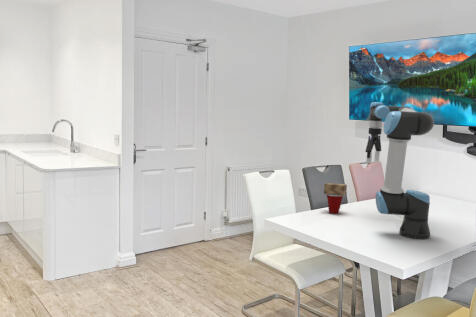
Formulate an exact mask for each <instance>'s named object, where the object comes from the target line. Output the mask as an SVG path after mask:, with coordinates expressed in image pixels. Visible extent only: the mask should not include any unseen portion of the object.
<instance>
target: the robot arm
mask: <svg viewBox="0 0 476 317" xmlns="http://www.w3.org/2000/svg"><path fill="white" fill-rule="evenodd" d="M383 119H385V120H384V122H383ZM383 123H384V124H383ZM434 125H435V120H434V117H433V116H432V115H431V114H430V113H427V112H422V111H421V112H419V111H417V110H415V108H414V107H413V106H404V105H403V106H399V105H397V106H395V105H384V103H383V102H375V101H373V102H371V103H370V107H369V121H368V127H369V128H368V134H369V136H368V139H367V144H366V148H365V153H366V162H365V163H366V164H372V159H373V158H372V157H373V156H372V154H373V152H372V151H373V150H375V151H374V162H378V163H379V162H380V152H382V145H381V144H382V143H381V135H382V131H383V133H384V135H386V138H387V140H388V142H389V143H388V150H387V157H386V165H385V166H386V167H385V172H384V182H383V185H382V186H380V190H379V191H376V193H375V204H376V209H377V211H378V213H379V214H381V215H388V216H389V215H394V216H395V215H396V216H397V215H398V216H404V217H403V220H402V223H401V225H400V226H399V230H398V232H399V235H401V236H403V237H406V238H410V239H417V240H428V239H430V238H431V230H430V226H429V213H430V211H429V210H430V205H431V202H430V195H429V194H428V193H426V192H424V191H423V192H422V191H419V190H414V189H406V190H404V189H403V187H402V185H403V184H402V183H403V178H404V170H405V169H404V168H405V163H406V162H405V161H406V155H407V154H406V153H407V146H408V142H410V141H411V139H412V136H423V135H426V134H428V133H430V132H431V130H432V129H433V128H434ZM382 127H383V129H382ZM373 148H374V149H373Z"/></svg>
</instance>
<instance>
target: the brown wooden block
mask: <svg viewBox="0 0 476 317" xmlns="http://www.w3.org/2000/svg"><path fill="white" fill-rule="evenodd" d="M323 186H324V187H323V194H324V195H326V194H333V195H344V196H346V195H347V192H348V191H347V190H348V188H347V187H348V185H347V184H346V183H344V184H343V183H331V182H326V183H324V185H323Z"/></svg>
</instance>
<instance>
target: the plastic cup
mask: <svg viewBox="0 0 476 317" xmlns="http://www.w3.org/2000/svg"><path fill="white" fill-rule="evenodd" d="M325 195H326V198H327V207H328V212H329V214H334V215H338V214H339V212H340V209H341V204H342V201H343V198H344V196H345V195H333V194H325Z"/></svg>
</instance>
